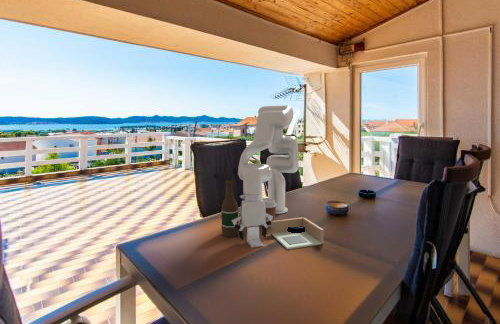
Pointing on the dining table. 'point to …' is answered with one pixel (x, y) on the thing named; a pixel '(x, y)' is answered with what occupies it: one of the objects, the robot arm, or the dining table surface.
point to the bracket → (253, 237)
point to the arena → (297, 240)
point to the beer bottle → (229, 211)
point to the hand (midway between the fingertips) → (252, 237)
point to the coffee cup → (270, 208)
